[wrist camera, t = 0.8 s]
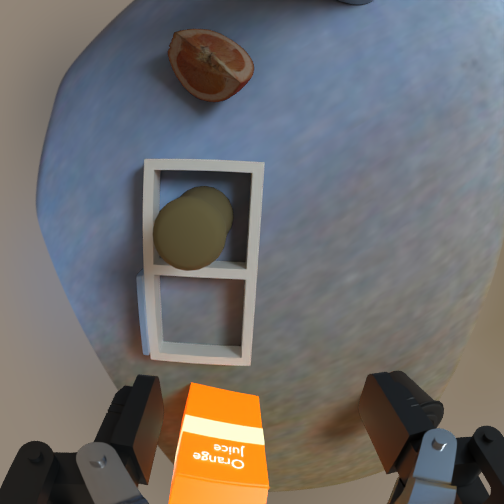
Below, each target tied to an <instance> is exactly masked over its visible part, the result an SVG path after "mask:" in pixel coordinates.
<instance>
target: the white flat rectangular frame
mask: <svg viewBox="0 0 504 504" xmlns="http://www.w3.org/2000/svg"><path fill="white" fill-rule="evenodd" d="M161 170H189V171H221V172H241V173H251V185H250V201H249V218H248V234H247V251H246V262H231V261H214V262H212V263H211V264H210V265H208V266H206V267H204V268H201V269H199V270H192V271H185V270H180V269H176V268H174V267H173V266H171V265H169V264H167V263H166V262H165V261H164V260H163V259H162V258H159V254H158V252H157V250H156V248H155V246H154V241H153V228H154V222H155V219H156V217H157V216H158V214H159V202H160V173H161ZM263 178H264V163H263V162H248V161H229V160H203V159H144V181H143V261H144V268H143V269H142V270H141V271H140V272H139V273H138V275H137V276H136V281H137V296H138V309H139V320H140V330H141V339H142V348H143V355H149V353H150V355H151V359H153V360H162V361H173V362H185V363H198V364H215V365H239V366H250V364H251V351H252V337H253V323H254V310H255V296H256V281H257V267H258V253H259V238H260V223H261V208H262V193H263ZM160 275H168V276H185V277H203V278H224V279H245V286H244V303H243V321H242V339H241V346H224V345H205V344H189V343H176V342H164V341H163V330H162V314H161V295H160Z"/></svg>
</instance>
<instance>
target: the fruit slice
mask: <svg viewBox="0 0 504 504" xmlns="http://www.w3.org/2000/svg"><path fill="white" fill-rule="evenodd" d="M169 46H170V48H169V50H168V57H169V61H170V64H171V66H172V69H173V71H174V73H175V75H176V77H177V78H178V80H179V81H180V82H181V84H182V85H183V86H184V87H185V89H187V90H188V91H189V92H190V93H191V94H192V95H193V96H195V97H197V98H199V99H201V100H204V101H208V102H220V101H224V100H226V99H228V98H230V97H231V96H233V95H235V94H236V93H237V92H239V91H240V90H241V89H242V88H243V87H244V86H245V85H246V84H247V83H248V81H249V80H250V79H251V77H252V75H253V72H254V64H253V61H252V59H251V58H250V56H249V55H248V53H247V52H246V51H245V50H244V49H243V48H242V47H241V46H239V45H238V44H237V43H235V42H234V41H232V40H231V39H229V38H227V37H225V36H224V35H222V34H220V33H217V32H215V31H211V30H207V29H187V30H182V31H181V30H180V31H178V32H174V35H173V38H172V42H171V43H170V45H169Z"/></svg>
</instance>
